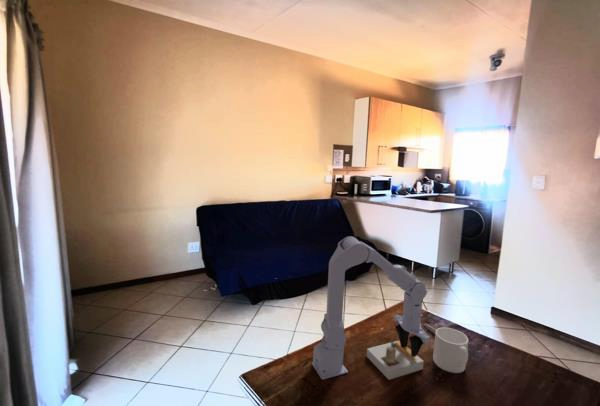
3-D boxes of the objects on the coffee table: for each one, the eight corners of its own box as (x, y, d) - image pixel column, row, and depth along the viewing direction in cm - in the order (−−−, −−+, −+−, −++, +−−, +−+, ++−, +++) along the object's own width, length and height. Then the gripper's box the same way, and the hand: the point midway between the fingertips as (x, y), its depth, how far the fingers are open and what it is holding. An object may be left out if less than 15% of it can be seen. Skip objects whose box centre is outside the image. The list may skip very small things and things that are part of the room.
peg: (396, 370, 97) (397, 351, 96) (388, 372, 96) (390, 353, 95) (390, 364, 100) (391, 345, 99) (383, 366, 99) (384, 347, 98)
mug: (427, 354, 106) (429, 328, 105) (452, 353, 107) (455, 326, 106) (449, 380, 94) (452, 350, 92) (477, 378, 95) (481, 348, 94)
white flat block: (388, 379, 93) (389, 367, 93) (366, 356, 104) (367, 345, 104) (422, 369, 98) (423, 357, 98) (398, 347, 109) (399, 337, 109)
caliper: (458, 356, 106) (459, 339, 105) (455, 356, 106) (457, 340, 105) (425, 325, 126) (426, 311, 125) (422, 325, 126) (423, 311, 125)
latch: (411, 358, 98) (411, 354, 98) (395, 345, 106) (395, 342, 106) (415, 357, 99) (416, 353, 99) (399, 344, 107) (399, 341, 106)
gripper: (438, 322, 94) (434, 361, 96) (406, 301, 107) (403, 336, 109) (421, 326, 91) (417, 366, 93) (390, 305, 105) (387, 340, 106)
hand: (409, 350), depth 101 cm, fingers closed on latch, 5 cm apart
